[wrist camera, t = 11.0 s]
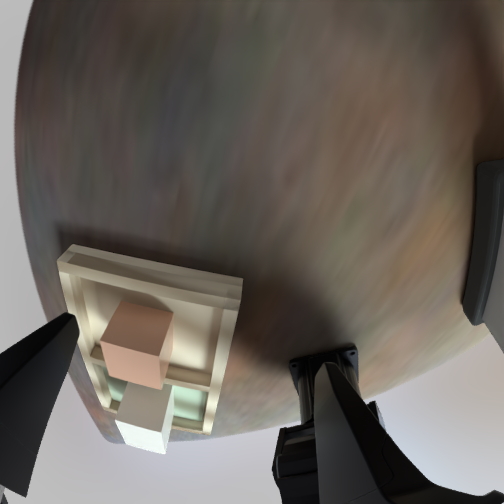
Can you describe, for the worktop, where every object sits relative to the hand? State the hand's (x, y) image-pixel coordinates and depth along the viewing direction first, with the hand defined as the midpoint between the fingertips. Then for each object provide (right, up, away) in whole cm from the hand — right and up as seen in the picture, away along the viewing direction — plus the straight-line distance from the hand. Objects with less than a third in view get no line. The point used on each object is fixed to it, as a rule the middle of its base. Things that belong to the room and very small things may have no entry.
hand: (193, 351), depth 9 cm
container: (+24, +5, +9) cm, 26 cm away
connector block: (-9, -12, +19) cm, 24 cm away
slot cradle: (-8, -7, +17) cm, 20 cm away
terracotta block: (-7, -3, +14) cm, 15 cm away
